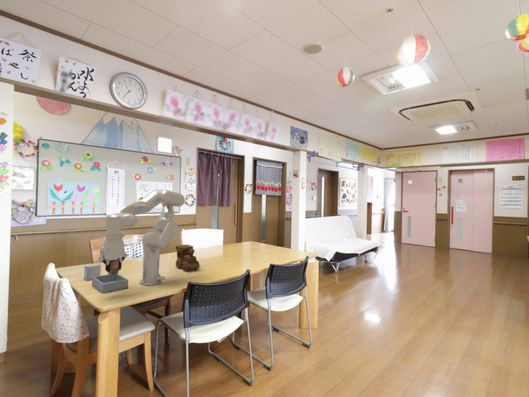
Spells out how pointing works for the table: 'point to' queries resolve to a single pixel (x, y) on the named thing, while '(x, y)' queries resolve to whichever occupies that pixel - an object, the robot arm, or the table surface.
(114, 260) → the walnut cylinder
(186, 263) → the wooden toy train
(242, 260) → the table surface
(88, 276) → the medicine box
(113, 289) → the tote
